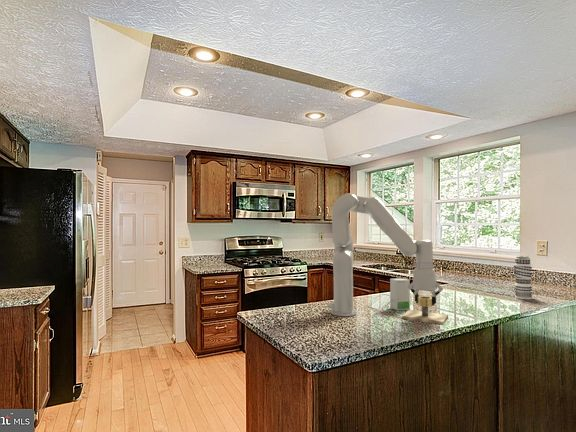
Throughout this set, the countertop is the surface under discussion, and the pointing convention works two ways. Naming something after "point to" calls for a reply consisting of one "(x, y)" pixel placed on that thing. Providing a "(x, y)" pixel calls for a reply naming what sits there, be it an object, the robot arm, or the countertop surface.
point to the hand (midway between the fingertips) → (425, 303)
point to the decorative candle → (523, 277)
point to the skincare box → (399, 294)
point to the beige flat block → (425, 316)
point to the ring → (425, 301)
